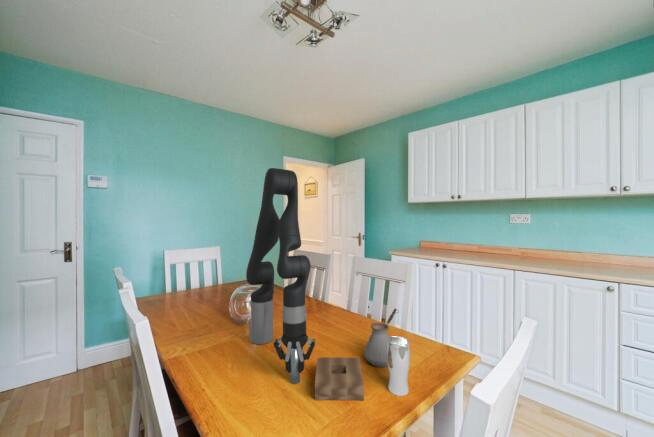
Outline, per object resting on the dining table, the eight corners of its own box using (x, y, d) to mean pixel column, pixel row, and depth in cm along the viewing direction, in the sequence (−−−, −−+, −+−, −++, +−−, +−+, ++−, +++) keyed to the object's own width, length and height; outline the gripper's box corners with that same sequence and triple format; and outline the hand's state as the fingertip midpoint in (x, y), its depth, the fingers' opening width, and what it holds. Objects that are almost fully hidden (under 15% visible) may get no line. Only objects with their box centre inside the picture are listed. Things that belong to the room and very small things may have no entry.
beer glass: (383, 383, 87) (383, 336, 86) (405, 381, 87) (405, 334, 87) (390, 397, 80) (390, 346, 79) (414, 396, 80) (413, 345, 80)
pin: (289, 384, 87) (288, 349, 86) (290, 378, 90) (290, 344, 90) (299, 384, 86) (299, 349, 86) (300, 378, 90) (300, 344, 89)
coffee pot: (388, 374, 91) (387, 329, 91) (358, 363, 98) (357, 321, 98) (410, 348, 109) (410, 310, 108) (383, 340, 115) (383, 305, 115)
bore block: (315, 400, 79) (314, 382, 79) (317, 372, 93) (317, 357, 93) (363, 400, 79) (363, 383, 79) (359, 372, 93) (359, 357, 93)
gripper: (269, 322, 84) (270, 378, 84) (315, 322, 84) (316, 378, 84) (274, 313, 92) (275, 365, 92) (317, 313, 91) (317, 365, 92)
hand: (295, 371), depth 88 cm, fingers closed on pin, 3 cm apart
